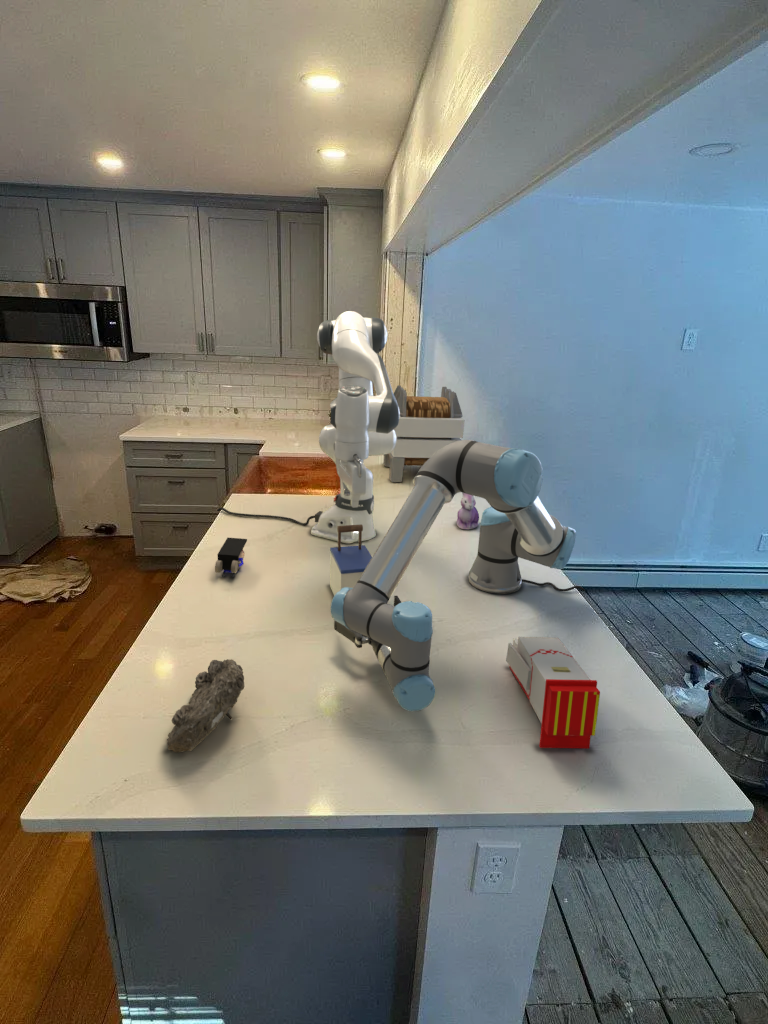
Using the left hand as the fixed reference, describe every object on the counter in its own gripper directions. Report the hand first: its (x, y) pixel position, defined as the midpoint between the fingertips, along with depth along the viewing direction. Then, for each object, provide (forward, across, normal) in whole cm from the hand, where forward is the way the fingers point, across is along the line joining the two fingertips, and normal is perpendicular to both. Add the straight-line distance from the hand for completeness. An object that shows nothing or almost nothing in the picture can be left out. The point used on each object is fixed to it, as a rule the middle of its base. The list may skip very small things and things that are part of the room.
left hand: (350, 500), depth 151 cm
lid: (+15, -5, 0) cm, 16 cm away
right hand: (+19, -22, 0) cm, 29 cm away
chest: (+26, -5, 0) cm, 26 cm away
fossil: (+26, -47, +37) cm, 65 cm away
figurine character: (+26, +18, +31) cm, 44 cm away
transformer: (+26, +109, -60) cm, 127 cm away
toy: (+26, -57, -28) cm, 69 cm away
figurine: (+26, +39, -54) cm, 72 cm away
